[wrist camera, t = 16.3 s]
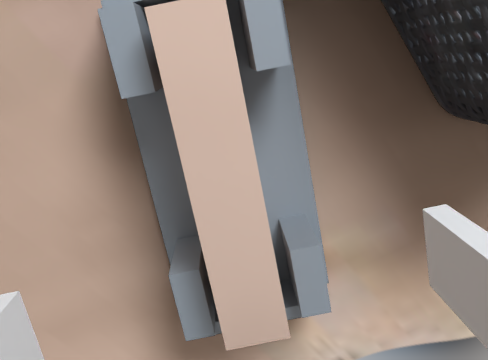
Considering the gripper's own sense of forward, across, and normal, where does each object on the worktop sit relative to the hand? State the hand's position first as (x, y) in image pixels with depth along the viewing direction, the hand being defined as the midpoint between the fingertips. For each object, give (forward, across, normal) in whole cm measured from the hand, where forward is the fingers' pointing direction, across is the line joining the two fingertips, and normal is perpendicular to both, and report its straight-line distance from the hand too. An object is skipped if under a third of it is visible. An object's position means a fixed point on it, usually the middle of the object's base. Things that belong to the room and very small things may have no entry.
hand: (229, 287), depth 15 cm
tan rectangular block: (+20, 0, 0) cm, 20 cm away
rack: (+22, 0, 0) cm, 22 cm away
